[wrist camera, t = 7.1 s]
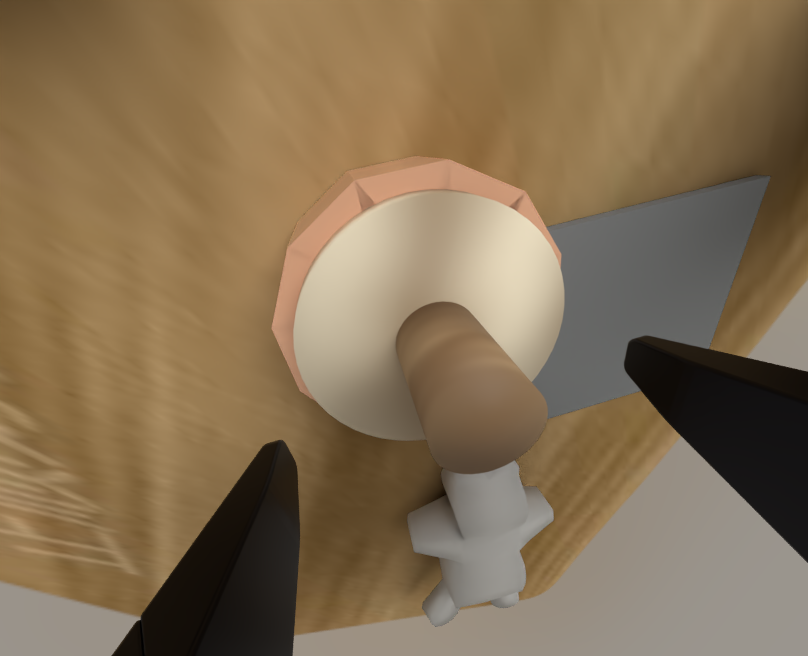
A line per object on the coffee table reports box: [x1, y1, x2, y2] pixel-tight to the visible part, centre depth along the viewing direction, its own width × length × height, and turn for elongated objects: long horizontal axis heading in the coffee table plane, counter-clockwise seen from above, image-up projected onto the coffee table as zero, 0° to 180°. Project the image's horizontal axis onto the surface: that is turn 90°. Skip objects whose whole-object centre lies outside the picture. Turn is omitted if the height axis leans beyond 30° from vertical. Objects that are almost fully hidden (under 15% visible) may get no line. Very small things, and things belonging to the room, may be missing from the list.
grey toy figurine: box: [407, 460, 554, 627], centre depth 23 cm, size 10×5×15 cm
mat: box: [532, 175, 771, 419], centre depth 18 cm, size 12×12×1 cm
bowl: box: [272, 156, 562, 403], centre depth 13 cm, size 10×10×4 cm
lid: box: [293, 189, 564, 474], centre depth 9 cm, size 9×9×5 cm
